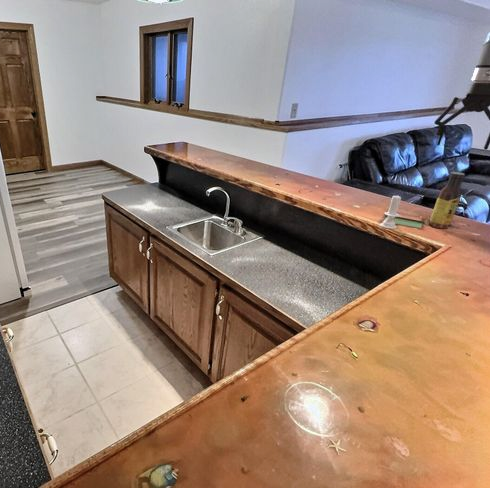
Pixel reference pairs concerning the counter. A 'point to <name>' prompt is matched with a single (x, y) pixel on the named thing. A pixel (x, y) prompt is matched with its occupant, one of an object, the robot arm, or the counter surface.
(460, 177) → the sauce bottle
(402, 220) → the mat
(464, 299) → the counter surface
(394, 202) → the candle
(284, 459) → the counter surface
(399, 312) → the counter surface
